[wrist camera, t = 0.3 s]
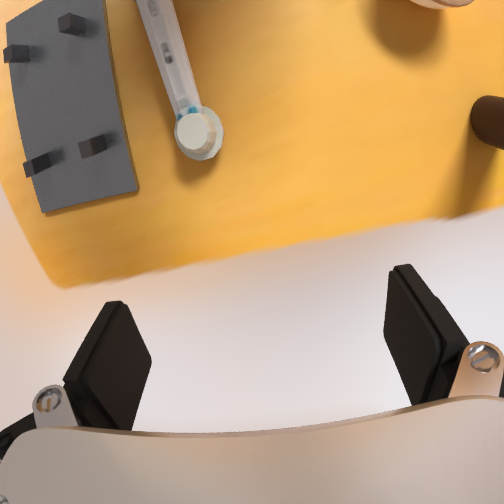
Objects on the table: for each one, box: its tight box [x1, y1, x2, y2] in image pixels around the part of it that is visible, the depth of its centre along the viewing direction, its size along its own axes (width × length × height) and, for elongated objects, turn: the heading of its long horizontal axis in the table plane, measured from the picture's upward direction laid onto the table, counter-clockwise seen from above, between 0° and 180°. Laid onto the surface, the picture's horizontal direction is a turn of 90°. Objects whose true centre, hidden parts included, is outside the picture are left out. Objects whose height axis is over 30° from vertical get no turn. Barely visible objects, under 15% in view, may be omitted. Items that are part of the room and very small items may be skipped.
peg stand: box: [3, 0, 139, 213], centre depth 30 cm, size 30×16×5 cm, turn 8°
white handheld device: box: [135, 0, 224, 161], centre depth 30 cm, size 5×7×25 cm
